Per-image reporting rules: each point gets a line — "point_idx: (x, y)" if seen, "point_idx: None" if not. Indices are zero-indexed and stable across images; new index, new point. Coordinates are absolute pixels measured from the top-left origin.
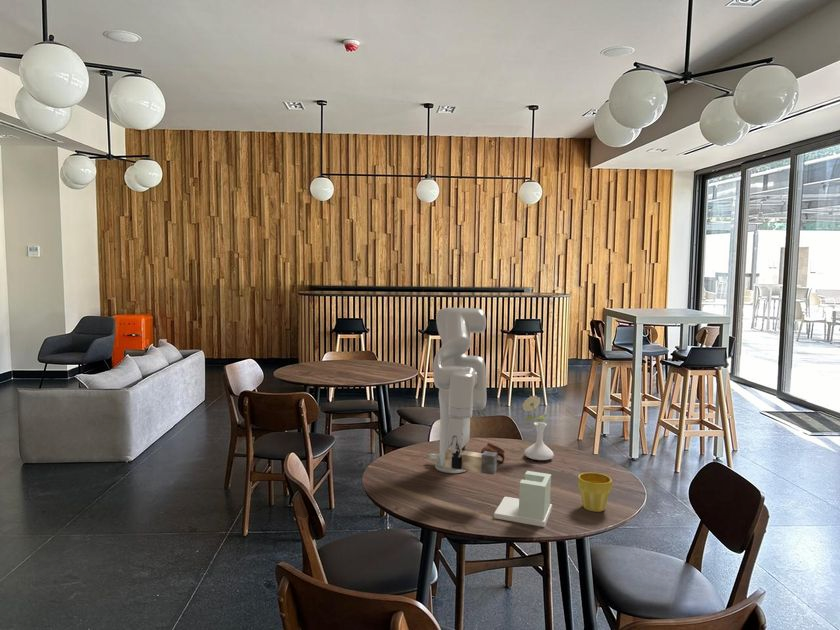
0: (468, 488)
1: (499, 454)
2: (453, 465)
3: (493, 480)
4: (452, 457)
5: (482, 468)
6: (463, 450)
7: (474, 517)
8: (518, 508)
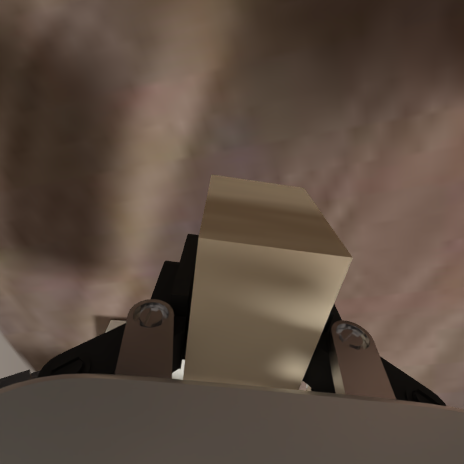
0: (347, 214)
1: None
2: (164, 262)
3: (433, 283)
4: (174, 290)
5: None
6: (297, 389)
7: (85, 270)
8: (172, 377)
